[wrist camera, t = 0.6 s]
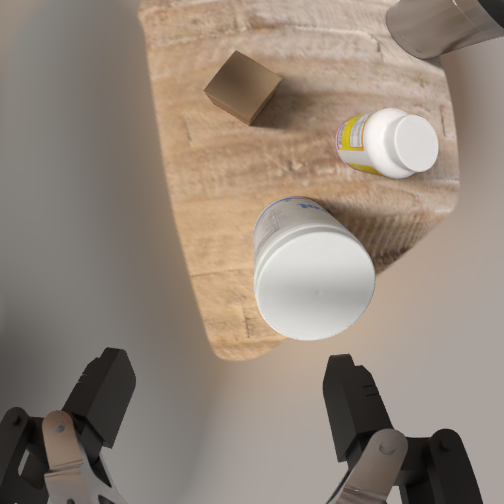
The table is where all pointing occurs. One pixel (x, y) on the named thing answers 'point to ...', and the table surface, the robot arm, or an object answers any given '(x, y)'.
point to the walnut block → (242, 87)
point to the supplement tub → (309, 270)
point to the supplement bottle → (387, 143)
